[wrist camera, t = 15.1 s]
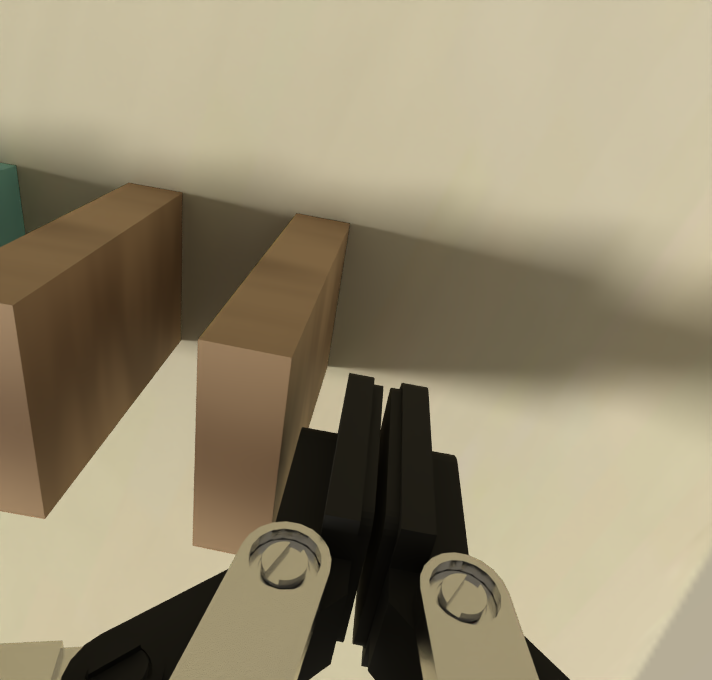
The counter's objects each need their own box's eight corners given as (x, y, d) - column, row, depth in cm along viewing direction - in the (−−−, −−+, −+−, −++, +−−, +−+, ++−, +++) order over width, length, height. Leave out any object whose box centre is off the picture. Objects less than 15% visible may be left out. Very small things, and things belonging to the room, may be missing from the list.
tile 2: (181, 340, 19) (44, 518, 12) (134, 331, 19) (-31, 505, 12) (182, 192, 16) (12, 305, 9) (128, 182, 16) (-82, 288, 9)
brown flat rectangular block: (327, 367, 19) (267, 560, 12) (280, 358, 19) (192, 545, 12) (349, 223, 16) (291, 358, 9) (296, 213, 16) (198, 339, 9)
